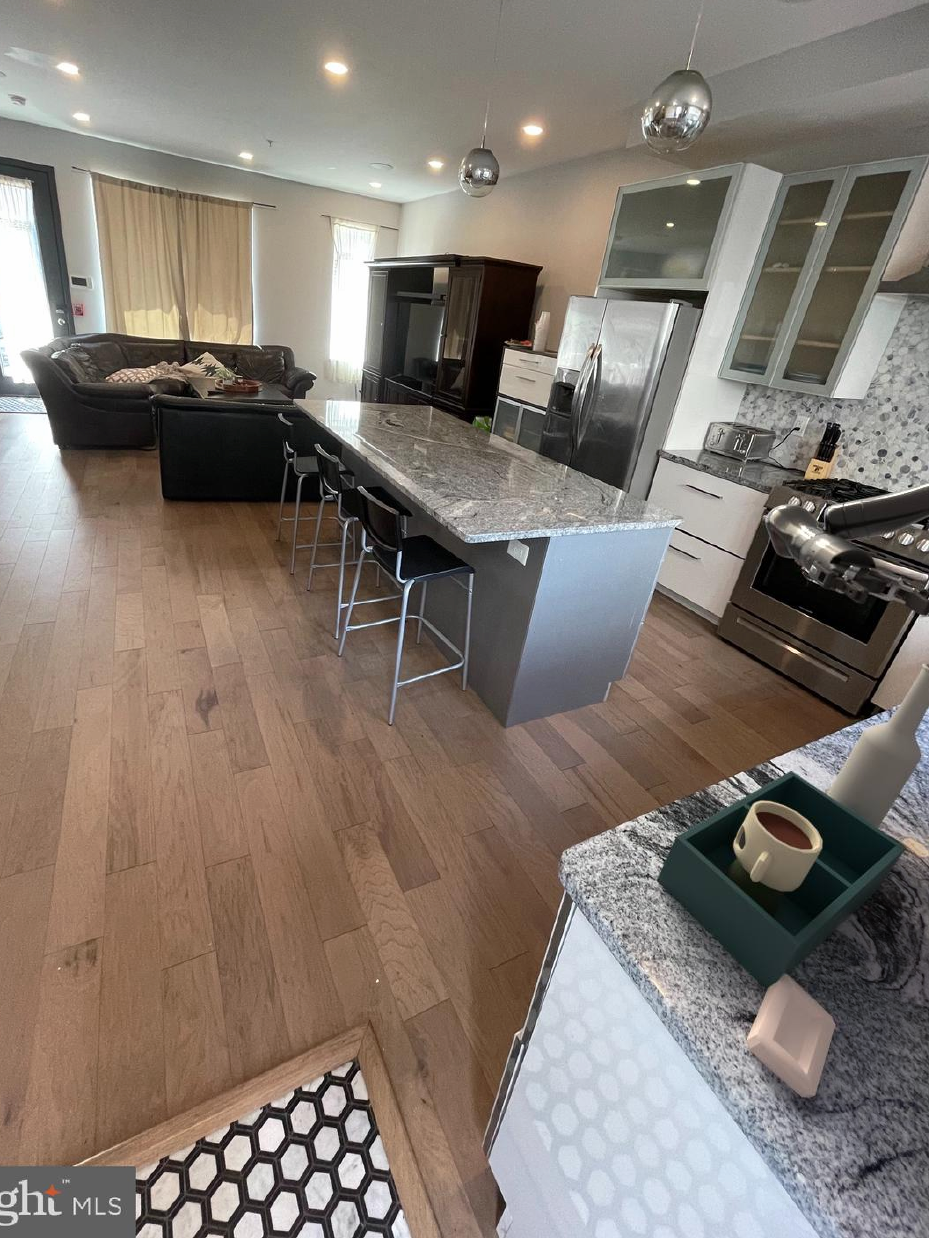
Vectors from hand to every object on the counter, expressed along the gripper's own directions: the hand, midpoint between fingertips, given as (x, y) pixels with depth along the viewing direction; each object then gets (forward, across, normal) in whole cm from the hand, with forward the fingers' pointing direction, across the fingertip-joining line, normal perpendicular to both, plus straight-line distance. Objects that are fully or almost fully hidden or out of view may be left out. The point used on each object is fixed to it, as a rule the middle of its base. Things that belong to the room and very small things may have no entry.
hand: (896, 603), depth 78 cm
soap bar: (+42, -21, +33) cm, 57 cm away
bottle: (+11, 0, +32) cm, 34 cm away
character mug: (+28, -20, +32) cm, 47 cm away
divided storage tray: (+24, -15, +32) cm, 43 cm away
